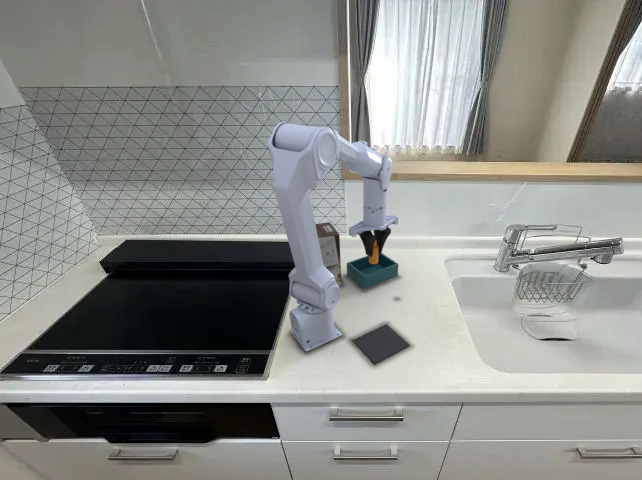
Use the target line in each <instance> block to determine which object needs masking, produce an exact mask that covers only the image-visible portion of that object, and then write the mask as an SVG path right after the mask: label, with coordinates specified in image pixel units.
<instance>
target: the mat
mask: <svg viewBox="0 0 642 480" xmlns="http://www.w3.org/2000/svg"><path fill="white" fill-rule="evenodd" d="M351 341H352V342H353V344H354V345H355V346H356V347H357V348H358V349H359V350H360V351H361V352H362V353H363V354H364V356H366V357H367V359H368V360H369V361H371V363H372V364H373V366H374V365H377V364H379V363H380V362H382V361H385V360H386V359H388V358H390V357H392V356H394V355H396V354H397V353H399V352H401V351H403V350H404V349H406V348H408V347H410V346H411V344H410V343H409V342H407V341H406V340H405V339H404V338H403V337H402V336H401V335H399V333H397V332H396V331H395V330H394V329H393V328H392V327H391V326H390V325H388V323H387V324H386V323H385V324H384V325H382V326H380V327H377V328H374V329H373V330H371V331H369V332H367V333H364V334H363V335H361V336H359V337H357V338H355V339H351Z"/></svg>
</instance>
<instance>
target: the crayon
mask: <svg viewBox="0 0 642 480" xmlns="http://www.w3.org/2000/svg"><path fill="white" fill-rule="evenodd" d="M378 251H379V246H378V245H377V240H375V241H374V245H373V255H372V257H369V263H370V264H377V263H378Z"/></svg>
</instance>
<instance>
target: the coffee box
mask: <svg viewBox="0 0 642 480" xmlns="http://www.w3.org/2000/svg"><path fill="white" fill-rule="evenodd" d="M315 225H316V230H317V235H318V240H319V245H320V250H321V255H322V260H323V265H324V266H325V267H326V268H327V269H328V270H329V271H330V272H331V273H332V274H333V275H334V277H335V281H336V283H337V284H338V285H339V286H341V285H342V284H343V281H342V265H341V264H342V263H341V239H340V237H341V236H340V233H339V232H338V230H337V229H336V228H335V227H334V226H333V224H332V222H330V221H327V222H321V223H315Z"/></svg>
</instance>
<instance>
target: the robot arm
mask: <svg viewBox="0 0 642 480" xmlns="http://www.w3.org/2000/svg"><path fill="white" fill-rule="evenodd" d="M267 149H268V153H269V156H270V160H271V163H272V169H273V170H272V171H273V173H272V174H273V176H272V177H273V182H272V183H273V190H274V194H275V198H276V202H277V205H278V208H279V213H280V217H281V219H282V223H283V227H284V231H285V234H286V238H287V241H288V245H289V249H290V252H291V256H292V260H293V263H294V265H295V267H294V268H292V270H291V271H290V272H289V274H288V279H289V286H288V287H289V288H288V289H289V294H290V296H291V297H292V298H293V299H296V304H297V306H296V307H295V308H294V309H291V310H290V311H289V321H290V326H291V334H292V335H293V337H294V338H295V340H296V341H297V342H298V344H299V345H300V346H301V348H302V349H303V350H304V351H305V352H306V353H308V352H310V351H312V350H314V349H316V348H319V347H320V346H323V345H325V344H327V343H330V342H332V341H333V340H336V339H338V338H341V337H342V335H343V334H342V333H341V331H340V330H339V329H338V328H337V327H336V326H335V321H334V320H335V319H334V308H335V306H337V304H338V302H339V300H340V296H341V291H340V290H341V289H340V285H338V284H337V283H336V281H335V277H334V275H333V274H332V273H331V272H330V271H329V270H328V269H327V268H326V267H325V266H324V265H323V260H322V255H321V250H320V245H319V240H318V235H317V230H316V221H315V216H314V211H313V210H314V209H313V206H312V201H311V196H310V192H311V190H312V189H315V188H317V187H318V186H319V185H320V184H321V182H322V181H323V180H324V178H325V177H326V175H327V174H328V172H329V171H330V169H331V168H332V167H333V165H334V164H335V161H338V160H341V161H343V162H344V165H345V167H346V169H348V170H349V171H351V172H353V173H355V174H358V176H359V178H360V179H362V178H363V179H362V181H363V184H362V185H363V186H362V187H363V188H362V189H363V190H362V193H363V194H362V196H363V197H362V198H363V201H362V203H363V205H362V210H363V211H362V218H363V219H362V220H361V221H359V222H358V223H356V224H354V225H352V226H349V227H348V235H349V236H350V237H352V238H355V237H357V235H358V236H359V238H360V240H361V242H362V245H363V247H364V251H365V255H366V256H369V257H372V255H373V245H374V241H375V240H377V245H378V246H379V251H378V253H379V254H381V253H383V249H384V246H385V244H386V241H387V240H388V237H389V236H390V235H391V234H392V229H391V228H390V227H389V226H391V225H394V226H395V225H399V216H397V215H395V214H391V215H387V198H388V188H389V187H390V184H391V177H392V174H393V170H394V165H393V161H392V158H391V157H389V155H387V154H383V153H379V152H378V149H376V148H373V147H369V146H368V142H367V141H365V140H358V141H355V142H352V143H351V142H350V141H349V140H347V139H346V138H345V137H343V136H341V135H340V134H339V132H338V131H337V130H334V129H331V128H330V127H327V126H321V127H320V126H313V125H312V126H311V125H304V124H296V123H291V122H288V121H280V122H279V123H277V124H276V125H275V127H274V128H273V130H272V132H271V135H270V136H269V139H268V141H267ZM372 231H373V232H372Z"/></svg>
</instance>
